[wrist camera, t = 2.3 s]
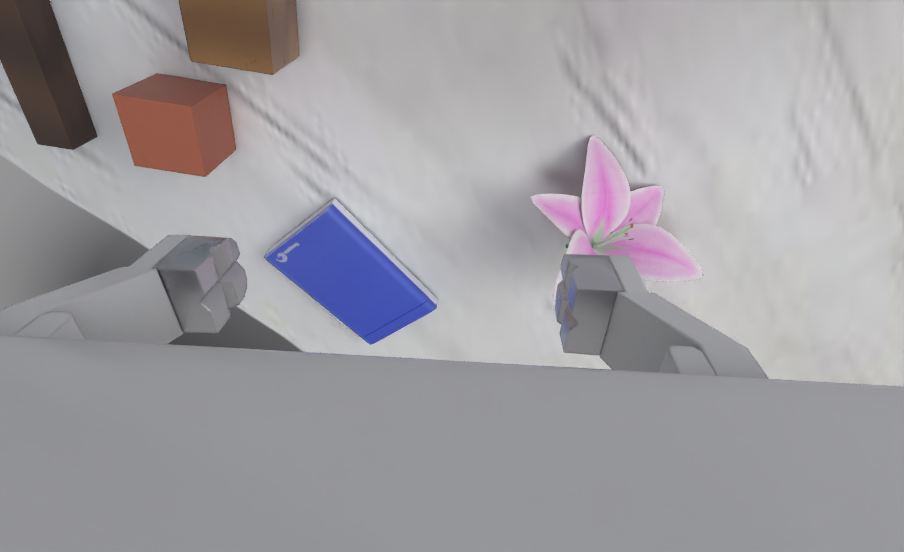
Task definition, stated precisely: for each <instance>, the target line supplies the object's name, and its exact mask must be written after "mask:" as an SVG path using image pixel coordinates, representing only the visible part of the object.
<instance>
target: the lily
mask: <svg viewBox="0 0 904 552" xmlns="http://www.w3.org/2000/svg"><path fill="white" fill-rule="evenodd" d="M531 199H532V202H533V203H534V204H535V205H536V206H537V207H538V208H539V209H540V211H541V212H542V213H543V214H544V215H545V216H546V217H547V218H548V219H549V220H550V221H551V222H553V223H554V224H555V225H556V226H557V227H558V228H559V229H560V230H561V231H562V232H563V233H564V234H565V235H566V236H567V237H569V238H570V239H571V241H570V243H569V245H566V248H568V249H567V252H566V254H581V255H627V256H629V257H630V258H631V260H632V262H633V264H634V266H635V268H636V270H637V272H638V273H639V275H640V277H641V279H642V281H643V283H644V285H645V287H646V281H645V280H651V281H687V280H696V279H700V278H701V277H702V276H703V272H702V269H701V267H700V266H699V264H698V263H697V261H696V260H695V259H694V257H693V256H692V255H691V254H690V252H689V251H688V250H687V249H686V248H685V247H684V246H683V245H682V244H681V243H680V242H679V241H678V240H677V239H676V238H675V237H674V236H673V235H671V234H670V233H669V232H668V231H666V230H664V229H662V228H660V227H658V226H656V224H657V222H658V219H659V217H660V213H661V210H662V206H663V201H664V189H663V187H661V186H649V187H644V188H640V189H636V190H634V191H630V187H629V183H628V180H627V178H626V176H625V174H624V172H623V170H622V168H621V167H620V165H619V164H618V162H617V161H616V159H615V157H614V156H613V155H612V153H611V152H610V151H609V149H608V148H607V147H606V145H605V144H604V143H603V142H602V141H601V140H600V139H599V138H598V137H596V136H594V135H592V136H591V137H590V139H589V143H588V148H587V157H586V166H585V174H584V181H583V189H582V198H580V197H577V196H572V195H566V194H538V195H534V196H532V197H531ZM562 280H563V278H562V274H561V270H560V272H559V275H558V277H557V280H556V283H555V288H554V292H553V298H554V302H556V292H557V285H558V284H559V283H560V282H561V281H562ZM646 289H647V288H646Z"/></svg>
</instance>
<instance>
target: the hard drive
mask: <svg viewBox="0 0 904 552" xmlns="http://www.w3.org/2000/svg"><path fill="white" fill-rule="evenodd" d="M264 258H265V259H266V260H267V261H268V262H270V263H271V264H272V265H273V266H274V267H276V268H277V269H278V270H279V271H281V272H282V273H283V274H284V275H286V276H287V277H288V278H289V279H290V280H292V281H293V282H294V283H295V284H297V285H298V286H299V287H300V288H301V289H303V290H304V291H305V292H306V293H308V294H309V295H310V296H311V297H313V298H314V299H315V300H316V301H317V302H319V303H320V304H321V305H322V306H323V307H325V308H326V309H327V310H328V311H330V312H331V313H332V314H333V315H334V316H336V317H337V318H338V319H339V320H340V321H342V322H343V323H344V324H345V325H347V326H348V327H349V328H350V329H352V330H353V331H354V332H355V333H357V334H358V335H359V336H360V337H362V338H363V339H364V340H365V341H366V342H367V343H369V344H374V343H376V342H378V341H379V340H381V339H383V338H385V337H387V336H388V335H390V334H392V333H394V332H396V331H397V330H399V329H401V328H403V327H405V326H407V325H408V324H410V323H412V322H414V321H416V320H417V319H419V318H421V317H423V316H425V315H427V314H428V313H430V312H432V311H433V310H435V309H436V308H437V301H438V299H437V298H436V297H435V296H434V295H433V294H431V293H430V292H429V290H428V289H427V288H426V287H425V286H424V285H423V284H422V283H421V282H420V281H419V280H418V279H417V278H416V277H414V276H413V275H412V274H411V273H410V272H409V271H408V270H407V269H406V268H405V267H404V266H403V265H402V264H401V263H400V262H399V261H398V260H397V259H396V258H395V257H394V256H393V255H392V254H391V253H390V252H389V251H388V250H387V249H386V248H385V247H384V246H383V245H382V244H381V243H380V242H379V241H378V240H377V239H376V238H375V237H374V236H373V235H372V234H371V233H370V232H369V231H368V230H367V229H366V228H365V227H363V226H362V224H361V223H360V222H358V221H357V220H356V219H355V218H354V217H353V216H352V215H351V214H350V213H349V212H348V211H347V210H346V209H345V208H344V207H343V206H342V205H341V204H340V203H339V202H338V201H337V200H336V199H335V198H334V199H332V200H331V201H329V202H328V203H327V204H325V205H324V206H323V207H322V208H320V209H319V210H318V211H317V212H315V213H314V214H313V215H311V216H310V217H309V218H308V219H306V220H305V221H304V222H302V223H301V224H300V225H299V226H297V227H296V228H295V229H293V230H292V231H291V232H290V233H288V234H287V235H286V236H284V237H283V238H282V239H281V240H279V241H278V242H277V243H275V244H274V245H273V246H272V247H271V248H270V249H269V250H268V251H267V253H266V254H265V256H264Z"/></svg>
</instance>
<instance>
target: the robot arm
mask: <svg viewBox="0 0 904 552" xmlns="http://www.w3.org/2000/svg"><path fill="white" fill-rule="evenodd" d="M239 255H240V252H239V249H238V246H237V243H236V242H235V241H234V240H233V239H232V238H221V237H206V236H191V235H168V236H166V237H165V238H164V239H163V240H161V241H160V242H159V243H158V244H156V245H155V246H154V247H153V248H152V249H150V250H149V251H148V252H147V253H145V254H144V255H143V256H142V257H140V258H139V259H138V260H137V261H135V262H134V263H133V264H132V265H130V266H129V267H120V268H118V269H115V270H112V271H109V272H106V273H104V274H100V275H97V276H95V277H92V278H89V279H86V280H83V281H80V282H78V283H75V284H72V285H69V286H66V287H63V288H60V289H57V290H54V291H52V292H49V293H46V294H43V295H40V296H37V297H34V298H32V299H29V300H26V301H23V302H20V303H17V304H14V305H11V306H9V307H6V308H4V309H3V310H2V311H0V552H904V387H903V386H885V385H868V384H850V383H832V382H814V381H797V380H780V379H769V378H768V377H767V375H766V374H765V373H764V371H763V370H762V368H761V367H760V365H759V364H758V363H757V361H756V360H755V358H754V357H753V355H752V354H751V353H750V351H749V350H748V348H746V347H744V346H743V345H741V344H739V343H738V342H736V341H734V340H733V339H731V338H729V337H728V336H726V335H724V334H722V333H721V332H719V331H717V330H716V329H714V328H712V327H711V326H709V325H707V324H706V323H704V322H702V321H701V320H699V319H697V318H696V317H694V316H692V315H691V314H689V313H687V312H685V311H684V310H682V309H680V308H679V307H677V306H675V305H674V304H672V303H670V302H669V301H667V300H665V299H664V298H662V297H660V296H659V295H657V294H653V293H649V292H648V290H647V289H646V287H645V285H644V283H643V281H642V279H641V277H640V275H639V273H638V272H637V270H636V268H635V266H634V264H633V262H632V260H631V258H630V257H629V256H627V255H581V254H565V255H564V256H563V259H562V263H561V269H560V270H561V274H562V278H563V280H562V281H561V282H560V283H559V284H558V285H557V292H556V302H555V310H556V318H557V322H559V323H560V324H561V329H560V337H561V342H562V346H563V351H564V353H576V354H588V355H600V357H601V358H602V359H603V361H604V362H605V363H606V364H607V365H608V366H609V367H610V368H611V369H612V370H607V369H589V368H572V367H554V366H537V365H519V364H502V363H484V362H466V361H449V360H431V359H414V358H396V357H379V356H361V355H344V354H326V353H309V352H291V351H273V350H256V349H239V348H220V347H203V346H186V345H169V344H168V343H169V342H171V341H172V340H174V339H175V338H177V337H179V336H180V335H182V334H183V332H197V333H218V332H219V331H220V329H221V328H222V327H223V325H224V324H225V323H226V321H227V320H228V319H229V317H230V316H231V315H230V312H229V309H231V308H233V307H235V306H237V305H239V304H240V303H241V301H242V300H243V298H244V297H245V293H246V289H247V277H246V273H245V269H244V268H243V267H242V266H241V265H240V264H239V263H238V262H237V259H238V257H239Z"/></svg>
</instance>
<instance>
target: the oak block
mask: <svg viewBox="0 0 904 552" xmlns="http://www.w3.org/2000/svg"><path fill="white" fill-rule="evenodd" d="M179 5H180V10H181V15H182V20H183V25H184V30H185V35H186V40H187V45H188V50H189V55H190V60H191V61H192V62H198V63H204V64H210V65H216V66H222V67H228V68H234V69H240V70H246V71H252V72H258V73H264V74H270V75H273V74H275V73H276V72H277V71H279V70H280V69H282V68H283V67H285V66H286V65H287V64H289V63H290V62H292V61H293V60H295V59H296V58H297V57H299V43H298V27H297V10H296V0H179Z"/></svg>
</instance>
